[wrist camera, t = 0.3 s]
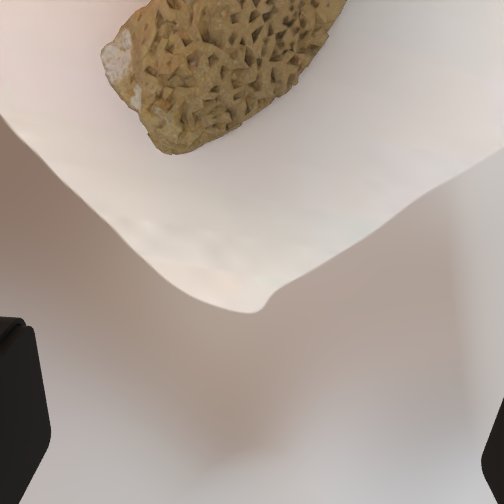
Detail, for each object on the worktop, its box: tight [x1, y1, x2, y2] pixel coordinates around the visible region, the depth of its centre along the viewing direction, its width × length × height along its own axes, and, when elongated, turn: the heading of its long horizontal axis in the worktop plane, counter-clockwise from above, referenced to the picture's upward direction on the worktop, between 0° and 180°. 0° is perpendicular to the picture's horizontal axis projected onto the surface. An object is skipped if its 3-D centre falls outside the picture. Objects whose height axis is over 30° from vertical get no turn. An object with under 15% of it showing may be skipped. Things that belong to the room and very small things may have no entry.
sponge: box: [101, 0, 347, 155], centre depth 30 cm, size 13×8×20 cm
